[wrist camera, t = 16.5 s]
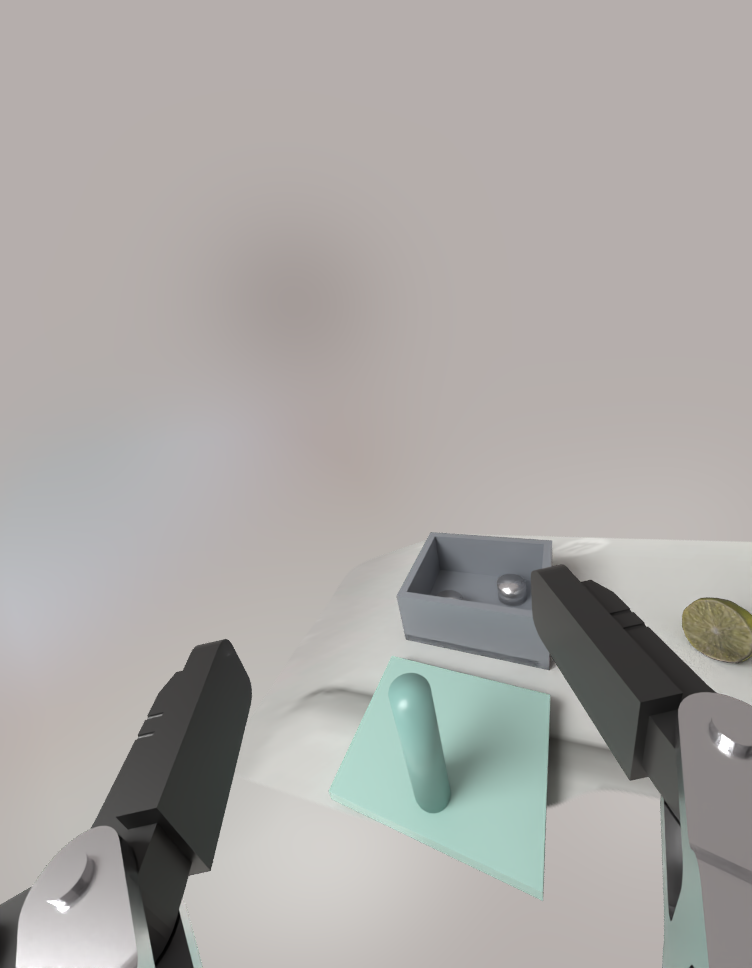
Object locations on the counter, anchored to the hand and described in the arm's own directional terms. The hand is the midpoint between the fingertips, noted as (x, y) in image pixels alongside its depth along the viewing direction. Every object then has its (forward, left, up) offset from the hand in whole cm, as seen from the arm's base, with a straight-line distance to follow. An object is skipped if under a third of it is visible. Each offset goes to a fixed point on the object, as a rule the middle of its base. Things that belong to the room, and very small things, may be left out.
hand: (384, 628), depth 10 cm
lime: (-16, -26, -24) cm, 39 cm away
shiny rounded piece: (+1, -28, -23) cm, 36 cm away
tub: (+4, -26, -24) cm, 35 cm away
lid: (+4, -10, -24) cm, 26 cm away
